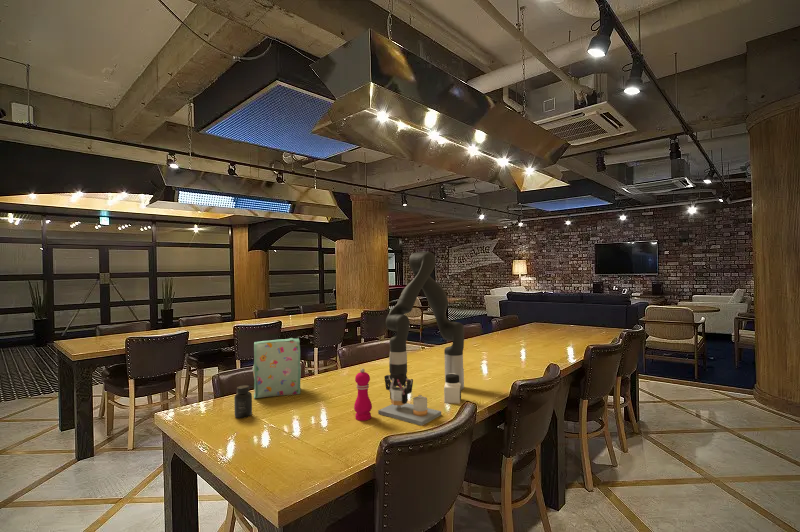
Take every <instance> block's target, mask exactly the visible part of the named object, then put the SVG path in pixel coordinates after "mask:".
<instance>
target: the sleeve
mask: <svg viewBox="0 0 800 532" xmlns="http://www.w3.org/2000/svg"><path fill="white" fill-rule="evenodd" d="M404 390H405V389H404ZM402 395H403V394H402V390H400V387H398V386H396V387H394V388H391V399H390V403H391V404H393V405H404V404H403V400H402ZM405 404H406V403H405Z"/></svg>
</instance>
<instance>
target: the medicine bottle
mask: <svg viewBox="0 0 800 532" xmlns="http://www.w3.org/2000/svg"><path fill="white" fill-rule="evenodd" d="M443 393H444V394H443V397H444V398H443V399H444V400H443V401H444V403H445V404H459V405H460V404H461V401H462V390H461V384H460V383H459V375H457V374H454V373H451V374H447V375H446V383H445V382H444V387H443Z"/></svg>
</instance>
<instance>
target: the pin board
mask: <svg viewBox="0 0 800 532" xmlns="http://www.w3.org/2000/svg"><path fill="white" fill-rule="evenodd" d="M412 400H413V403H408V402H407V403H406V404H404V405H393V404H392V403H391V404H390V405H387V406H385V407H383V408H381V409H378V410H377V411H378V412H377V413H378V415H380V416H384V417H388V418H389V417H390V418H392V419H395V420H399V421H402V422H406V423H411V424H414V425H418V426H424V425H427V424H428V423H430V422H431V421H433V420H435V419H436V418H438V417H440V416H442V411H441V410H439V409H438V410H437V409H434V408H429V407H428V398H427V396H423V395H421V394H419V395H418V396H415V397H413V399H412Z"/></svg>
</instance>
